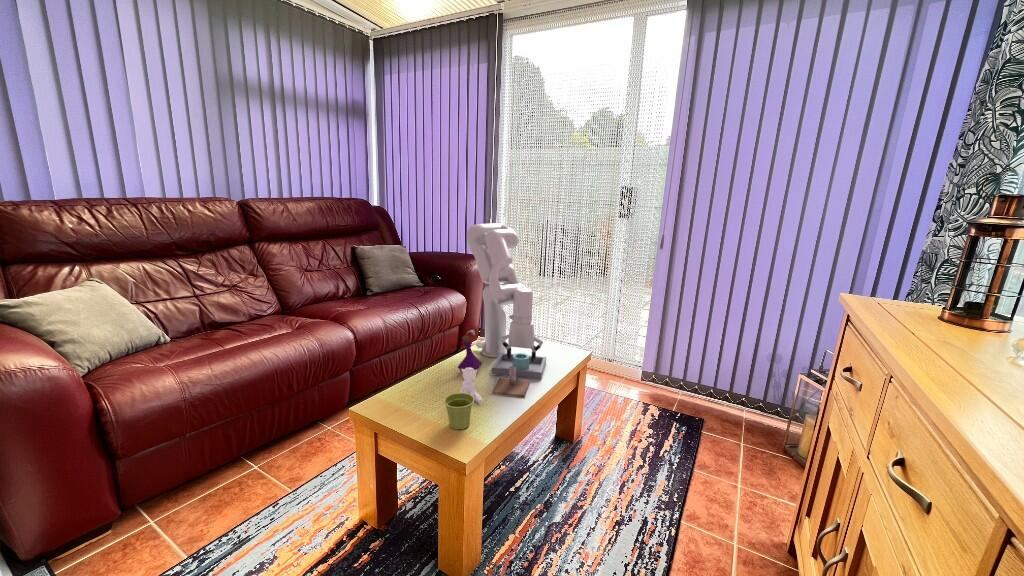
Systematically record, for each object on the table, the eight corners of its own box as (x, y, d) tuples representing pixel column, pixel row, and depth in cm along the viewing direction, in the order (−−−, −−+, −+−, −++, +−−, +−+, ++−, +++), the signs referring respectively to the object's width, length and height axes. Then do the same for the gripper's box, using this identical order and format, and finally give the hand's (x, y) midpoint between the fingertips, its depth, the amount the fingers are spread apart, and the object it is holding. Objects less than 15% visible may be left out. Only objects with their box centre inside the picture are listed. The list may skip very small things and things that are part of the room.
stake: (491, 394, 150) (491, 374, 149) (499, 379, 162) (499, 361, 160) (524, 397, 148) (524, 378, 146) (529, 383, 160) (530, 364, 158)
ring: (511, 372, 168) (511, 358, 166) (515, 364, 175) (515, 351, 174) (527, 374, 166) (527, 360, 165) (530, 366, 174) (531, 352, 173)
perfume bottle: (457, 374, 166) (456, 331, 162) (466, 367, 173) (465, 326, 169) (474, 377, 163) (473, 334, 159) (482, 370, 170) (482, 328, 166)
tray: (491, 374, 166) (491, 367, 166) (500, 359, 182) (500, 352, 181) (541, 379, 163) (541, 372, 162) (546, 363, 178) (546, 357, 177)
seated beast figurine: (455, 407, 141) (455, 374, 138) (454, 395, 149) (453, 364, 146) (483, 405, 143) (483, 372, 140) (480, 393, 151) (480, 362, 148)
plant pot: (442, 433, 125) (442, 407, 124) (445, 417, 135) (445, 392, 133) (473, 433, 126) (473, 407, 124) (474, 416, 135) (474, 392, 133)
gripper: (499, 320, 163) (498, 360, 167) (542, 323, 160) (540, 365, 164) (503, 314, 170) (502, 353, 175) (545, 318, 167) (543, 357, 171)
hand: (521, 359), depth 169 cm, fingers open, 9 cm apart
